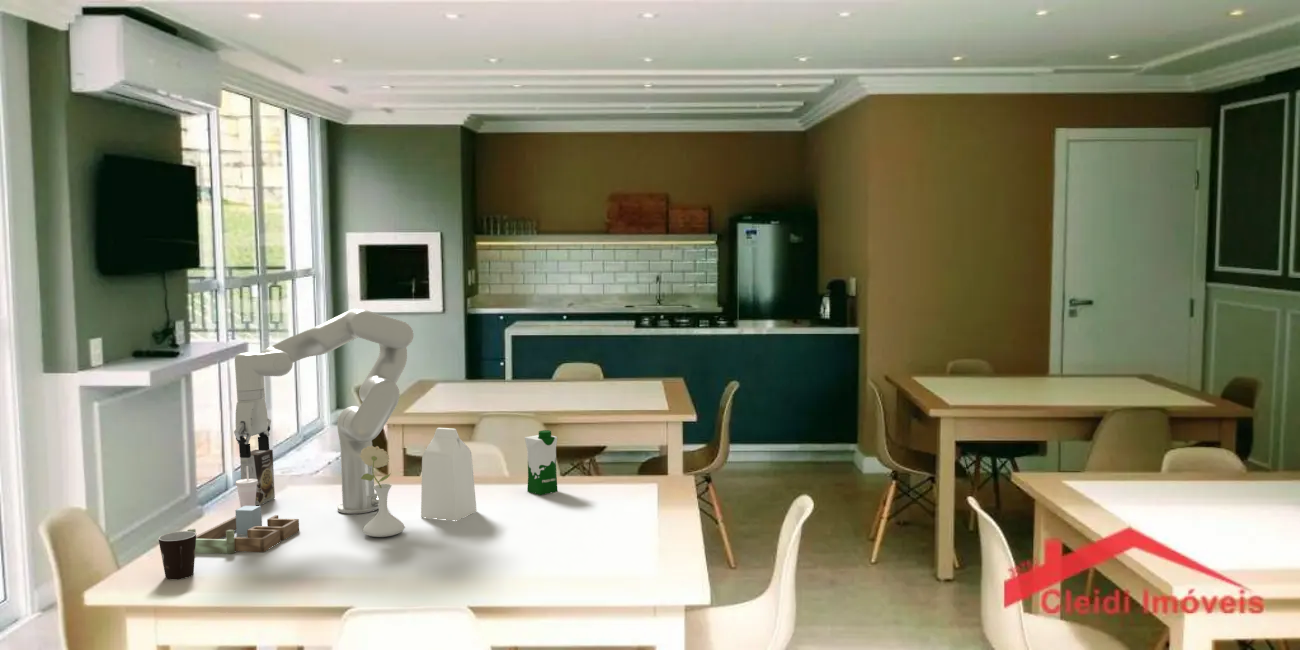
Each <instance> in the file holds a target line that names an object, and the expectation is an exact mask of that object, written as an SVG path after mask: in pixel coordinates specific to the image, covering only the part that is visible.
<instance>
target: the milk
mask: <svg viewBox="0 0 1300 650" xmlns="http://www.w3.org/2000/svg"><path fill="white" fill-rule="evenodd" d="M474 477H475V475H474V465H473V455H472V450H471V449H470V448H469V447H468V445H467V444H466V443H465V442H464V441H463V440H462V439H461V438H460V435H459V433H458V431H457V428H451V427H450V428H448V427H437V428H436V429H435V432H434V435H433V437H432V439H431V440H430V442H429V443H428V444H427V447H426V449H424V452H423V453H422V458H421V495H420V497H421V502H420V518H421V517H426V518H437V519H446V520H445V521H447V520H455V521H454V522H457V521H456V520H458V521H460V520H462V519H464V518H466V517H468V516H467V515H469V516H470V514H471V515H472V513H473V514H475V513H477V512H478V511H477V510H478V509H477V500H476V498H477V497H476V489H475V478H474ZM476 511H477V512H476ZM474 512H475V513H474ZM465 516H466V517H465ZM463 517H464V518H463ZM426 518H425V519H426ZM461 518H462V519H461ZM437 519H436V520H437ZM459 519H460V520H459Z"/></svg>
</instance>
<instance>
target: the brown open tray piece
mask: <svg viewBox="0 0 1300 650" xmlns="http://www.w3.org/2000/svg"><path fill="white" fill-rule="evenodd" d="M266 520H267V521H266V524H267V526H263V525H262V526H254V527H252V528H250V529H248V530H247V537H241V536H240V537H239V536H238V537H236V536H235V532H236V531H237V530H236V515H235V516H234V517H231V518H229V519H227V520H225V521H223V522H221V523H219V524H217V525H215V526H213V527H211V528H209V529H207V530H205V531H204V532H202V533H199V534H197V533H196V532H197V530H196V528H190V529H187V530H186V531H192V532H195V533H196V546H195V554H196V553H197V554H199V553H200V554H202V553H203V554H205V553H206V554H227V555H233V554H235V553H236V552H244V551H246V553H247V552H249V553H266V550H267V551H268V550H270V549H272V548H273V547H275V546H277V545H278V544H277V543H279V542H280V543H281V541H285V540H287V539H289V538H291V537H292V536H294V535H295V534H297V533H299V532H300V519H298V518H279V514H275V515H272V516H271V517H269V518H267V519H266ZM298 531H299V532H298ZM293 534H294V535H293ZM291 535H292V536H291ZM224 537H225V538H226V539H225V538H224ZM288 537H289V538H288ZM223 538H224V539H223ZM286 538H287V539H286ZM284 539H285V540H284ZM280 543H279V544H280ZM276 544H277V545H276ZM274 545H275V546H274ZM272 546H273V547H272ZM271 547H272V548H271ZM269 548H270V549H269ZM235 551H236V552H235Z"/></svg>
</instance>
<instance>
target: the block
mask: <svg viewBox="0 0 1300 650" xmlns="http://www.w3.org/2000/svg"><path fill="white" fill-rule="evenodd" d="M234 511H235V516H236V530H235V531H236V535H239V534H247V530H248V529H250V528H252V527H254V526H263V518H262V516H263V515H262V505H259V506H256V505H255V506H243V507H241V506H240V507H239V508H237V509H235V510H234Z"/></svg>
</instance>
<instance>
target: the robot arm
mask: <svg viewBox="0 0 1300 650" xmlns="http://www.w3.org/2000/svg"><path fill="white" fill-rule="evenodd" d="M413 330H414V329H413V328H412V327H411V325H409V323H407V322H406V321H402V320H399V319H397V318H396V319H395V318H393V317H392V318H391V317H389V316H385V315H382V314H378V313H376V312H372V311H370V310H367V309H361V308H352V309H349V310H347V311H345V312H342V313H341V314H339V315H336V316H335V317H333V318H331V319H329V320H327V321H325V322H323V323H321V324H318V325H315V326H314V327H312V328H310V329H306V330H304V331H302V332H300V333H297V334H295V335H292V336H290V337H287V338H285V339H283V340H281V341H279V342H277V343H275V344H272V345H271V346H269V347H266V348H265V349H263V351H262V352H258V351H257V352H256V351H246V352H241V353H237V354H236V355H235V356H234V369H235V385H236V386H235V387H236V399H237V402H236V406H235V430H234V431H233V434H234V435H235V440H236V442H237V445H238V449H239V459H240V458H250V457H251V451H252V450H251V443H250V439H251V437H253V436H254V437H255V436H256V435H258V436H257V446H258V449H257V450H260V451H268V450H270V442H269V441H270V439H269V437H270V430H271V422H272V420H271V419H270V418H269V417H268V409H267V404H266V393H265V392H266V391H265V379H264V377H282V376H285V375H287V374H288V373H290V372H291V370H292V368H293V365H294V363H296V362H298V361H300V360H303V359H306V358H310V357H317V356H323V355H324V354H328V353H330V352H332V351H334V350H336V349H338V348H340V347H342V346H344V345H345V344H348V343H351V341H354V340H356V339H358V338H359V339H362V340H365V341H369V342H371V343H375V344H378V345H379V354H378V358H377V359H376V361H375V363H374V364H373V366H372V368H371V370H370V371H369V373H368V374H367V375H366V377H365V379H364V380H363V382H362V383H361V385H360V387H359V391H358V394H359V395H358V396H359V399H360V400H361V402H362V403H361V404H360V406H357V405H352V406H351V405H350V406H348V407H346V408H345V409H343V410H342V411H341V412H340V414H339V416H338V418H337V423H336V425H337V433H338V435H337V436H338V441H339V447H340V448H339V449H340V450H339V451H340V472H341V473H340V474H341V492H342V494H341V495H342V496H341V497H342V503H340V504H339V505H338V506H337V511H338V512H339V513H342V514H350V515H351V514H353V515H354V514H355V515H356V514H364V513H365V514H366V513H370V512H371V513H372V512H374V511H377V510H379V500H378V495H377V492H376V491H375V489H374V488H373V486H375V478H373V480H372V481H368V480H364V479H361V477H362V476H363V475H364V474H366V473H367V474H370V475H373V474H372V467H373V466H368V465H366V464H365V463H364V461H362V459H361V458H360V455H361V450H363V448H367V446H369V447H371V446H373V440H374V439H376V438H377V437H378V436H379V435H380V433H382V432H381V431H382V430H383V429H384V427H385V425H386V424H387V422H388V420H389V419H390V418H391V416H392V415H393V412H394V411H395V409H396V407H397V406H398V403H399V401H400V400H399V399H400V390H399V386H398V384H397V382H398V381H399V379H400V377H401V375H402V373H403V372H404V370H405V367H406V365H407V359H408V349H407V347H408V346H409V345H411V343H412V342H413V339H414V331H413ZM373 472H375V471H374V470H373Z"/></svg>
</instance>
